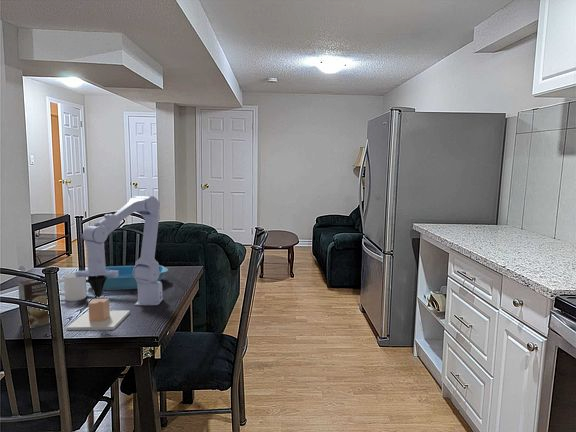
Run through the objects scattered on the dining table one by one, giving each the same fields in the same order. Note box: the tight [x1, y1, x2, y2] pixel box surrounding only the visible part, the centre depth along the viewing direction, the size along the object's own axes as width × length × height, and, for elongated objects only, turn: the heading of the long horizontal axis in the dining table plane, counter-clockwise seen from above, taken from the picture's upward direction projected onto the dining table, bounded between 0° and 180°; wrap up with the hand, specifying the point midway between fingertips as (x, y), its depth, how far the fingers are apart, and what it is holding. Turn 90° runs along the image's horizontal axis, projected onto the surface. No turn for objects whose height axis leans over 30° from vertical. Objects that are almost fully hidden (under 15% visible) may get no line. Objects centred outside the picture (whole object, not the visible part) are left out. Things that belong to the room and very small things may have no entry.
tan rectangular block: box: [88, 298, 111, 321], centre depth 149 cm, size 5×5×7 cm
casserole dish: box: [87, 264, 169, 291], centre depth 195 cm, size 37×22×7 cm, turn 100°
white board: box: [66, 310, 131, 331], centre depth 149 cm, size 16×16×6 cm
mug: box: [57, 272, 88, 302], centre depth 174 cm, size 12×8×10 cm
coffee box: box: [17, 279, 50, 329], centre depth 146 cm, size 9×6×16 cm
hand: (98, 296), depth 149 cm, fingers closed
